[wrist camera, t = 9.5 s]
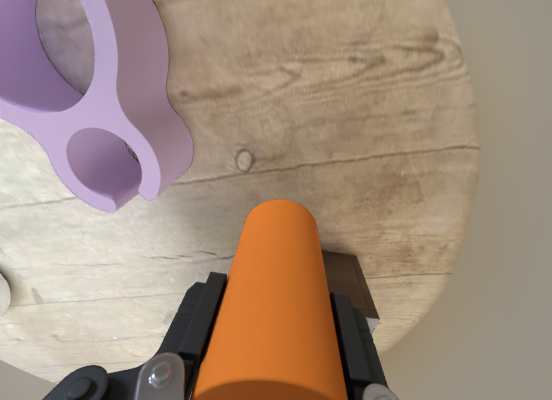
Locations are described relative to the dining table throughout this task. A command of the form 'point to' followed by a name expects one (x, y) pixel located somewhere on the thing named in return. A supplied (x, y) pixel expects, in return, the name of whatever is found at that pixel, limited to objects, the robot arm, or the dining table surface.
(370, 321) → the cabinet
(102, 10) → the clip
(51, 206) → the dining table surface
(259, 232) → the roller
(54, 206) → the dining table surface
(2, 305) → the white vase
